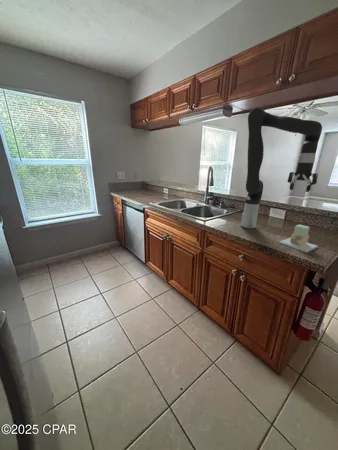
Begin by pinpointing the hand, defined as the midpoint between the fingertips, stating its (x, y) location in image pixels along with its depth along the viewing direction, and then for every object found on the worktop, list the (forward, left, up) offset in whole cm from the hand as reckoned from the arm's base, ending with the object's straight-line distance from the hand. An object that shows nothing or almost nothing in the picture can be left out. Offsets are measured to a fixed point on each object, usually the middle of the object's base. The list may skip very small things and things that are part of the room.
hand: (299, 190), depth 110 cm
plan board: (+11, -12, -28) cm, 32 cm away
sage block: (+11, -12, -22) cm, 27 cm away
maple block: (+11, -12, -27) cm, 31 cm away
